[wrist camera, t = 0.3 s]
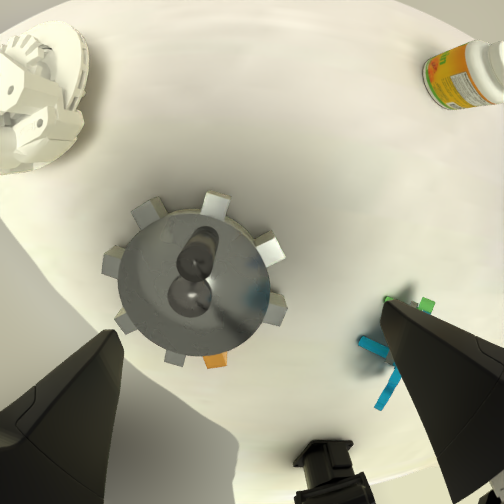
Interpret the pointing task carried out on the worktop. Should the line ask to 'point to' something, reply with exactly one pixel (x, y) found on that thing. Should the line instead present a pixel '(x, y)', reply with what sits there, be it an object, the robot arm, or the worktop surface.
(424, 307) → the gear
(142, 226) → the sprocket
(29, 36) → the mechanical part
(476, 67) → the supplement bottle
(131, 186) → the worktop surface
